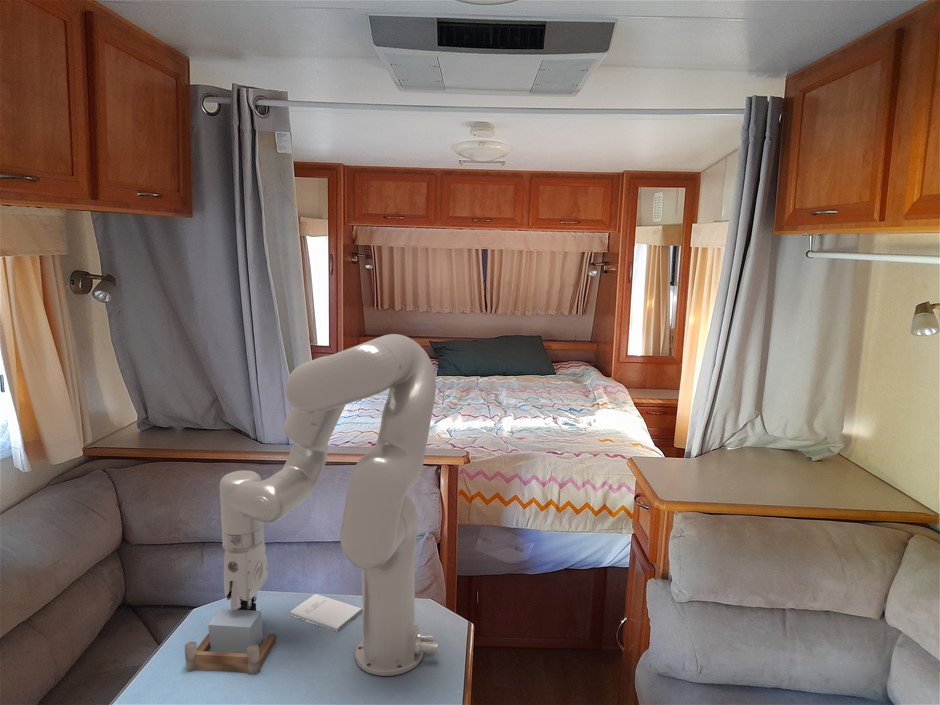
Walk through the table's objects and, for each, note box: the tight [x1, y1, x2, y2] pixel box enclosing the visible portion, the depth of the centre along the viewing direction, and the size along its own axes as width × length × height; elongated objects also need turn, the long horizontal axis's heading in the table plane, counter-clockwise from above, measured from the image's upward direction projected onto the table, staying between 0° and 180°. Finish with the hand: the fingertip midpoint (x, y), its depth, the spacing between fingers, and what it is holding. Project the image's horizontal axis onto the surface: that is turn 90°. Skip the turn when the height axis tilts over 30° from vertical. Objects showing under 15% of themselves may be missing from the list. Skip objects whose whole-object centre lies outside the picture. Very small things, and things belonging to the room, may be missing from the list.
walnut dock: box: [183, 632, 277, 675], centre depth 122 cm, size 14×10×4 cm
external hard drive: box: [289, 593, 363, 633], centre depth 137 cm, size 2×8×12 cm
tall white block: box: [207, 608, 264, 654], centre depth 125 cm, size 8×5×6 cm, turn 85°
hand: (247, 623), depth 130 cm, fingers closed
